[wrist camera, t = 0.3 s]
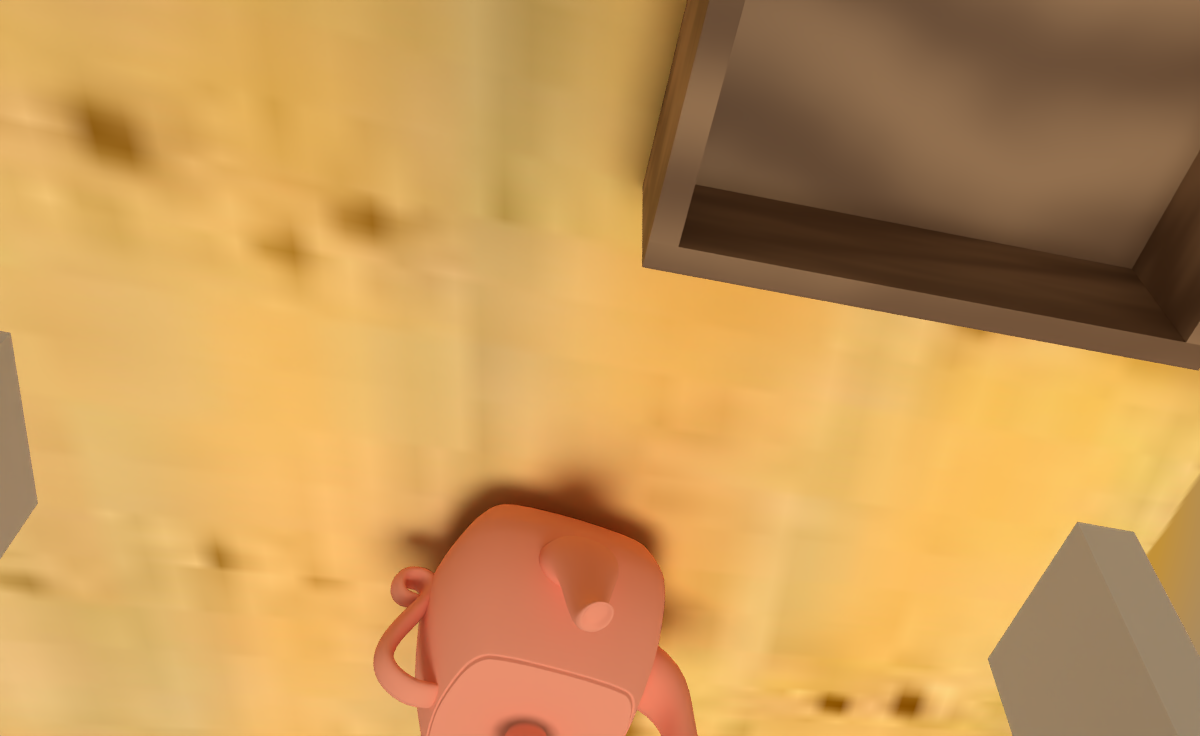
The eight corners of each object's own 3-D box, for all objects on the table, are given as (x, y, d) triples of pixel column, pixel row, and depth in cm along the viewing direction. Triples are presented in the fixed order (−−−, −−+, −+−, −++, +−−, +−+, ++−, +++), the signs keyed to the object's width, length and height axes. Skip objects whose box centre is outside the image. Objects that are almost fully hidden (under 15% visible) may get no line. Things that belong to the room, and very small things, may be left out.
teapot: (613, 425, 47) (607, 615, 38) (727, 621, 55) (744, 818, 46) (341, 517, 51) (278, 709, 42) (482, 689, 59) (454, 883, 50)
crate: (778, -381, 30) (804, -378, 25) (1434, -222, 31) (1578, -191, 27) (642, 187, 40) (642, 266, 35) (1140, 283, 42) (1206, 371, 37)
